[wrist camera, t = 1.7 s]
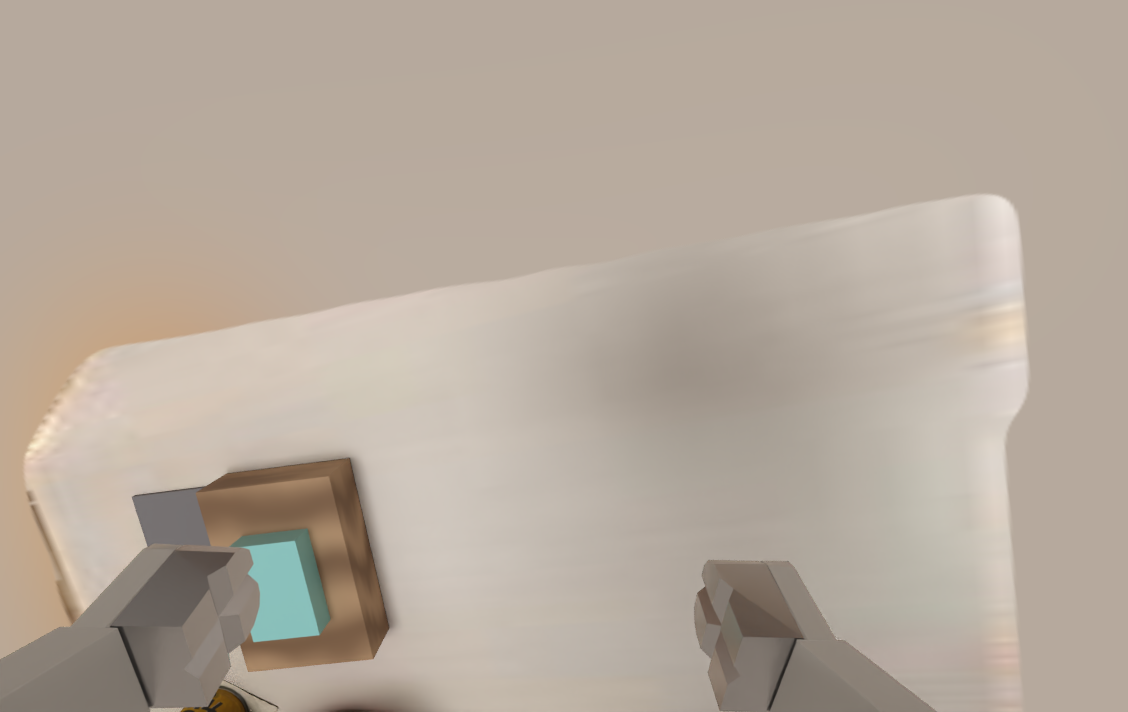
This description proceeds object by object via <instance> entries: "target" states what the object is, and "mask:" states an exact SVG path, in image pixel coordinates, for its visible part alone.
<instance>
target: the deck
mask: <svg viewBox="0 0 1128 712" xmlns="http://www.w3.org/2000/svg"><path fill="white" fill-rule="evenodd" d="M196 497H197V500H198V504H199V507H200V510H201V514H202V517H203V520H204V524H205V527H206V531H207V534H208V537H209V541H210V544H211V546H221V547H229V546H231V545H232V544H233V543H234V542H235V541H237V540H238V539H239V538H240V537H241V536H248V535H256V534H265V533H273V532H281V531H290V530H298V529H308V533H309V537H310V541H311V545H312V548H313V552H314V556H315V560H316V564H317V568H318V572H319V576H320V580H321V584H322V588H323V591H324V595H325V599H326V603H327V607H328V611H329V615H330V621H329V622H328V624H327V625H326V627H325V628H324V630H323V631H322V633H321V634H320V635H317V636H307V637H298V638H289V639H279V640H270V641H260V642H253V639H252V635H251V632H250V633H249V635H248V637H247V639H246V641H245V642H243V643H242V644H241V645H240V646H241V649H242V653H243V656H244V659H245V663H246V666H247V670H248V672H253V671H263V670H273V669H282V668H292V667H302V666H311V665H321V664H331V663H340V662H350V661H360V660H369V659H374V657H375V655H376V653H377V651H378V649H379V647H380V645H381V643H382V641H383V639H384V637H385V635H386V633H387V631H388V630H389V626H388V621H387V617H386V613H385V609H384V604H383V600H382V596H381V591H380V587H379V583H378V579H377V574H376V570H375V566H374V561H373V557H372V553H371V549H370V544H369V540H368V536H367V531H366V527H365V523H364V519H363V514H362V510H361V506H360V501H359V497H358V493H357V489H356V484H355V480H354V476H353V471H352V467H351V463H350V459H349V458H347V459H339V460H331V461H324V462H316V463H308V464H300V465H292V466H284V467H276V468H268V469H261V470H253V471H245V472H237V473H229V474H225V475H224V476H222V477H220V478H219V479H217V480H216V481H214V482H212V483H211V484H209V485H207V486H206V487H204V488H203V489H201V490H199V491H198V492H196Z"/></svg>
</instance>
